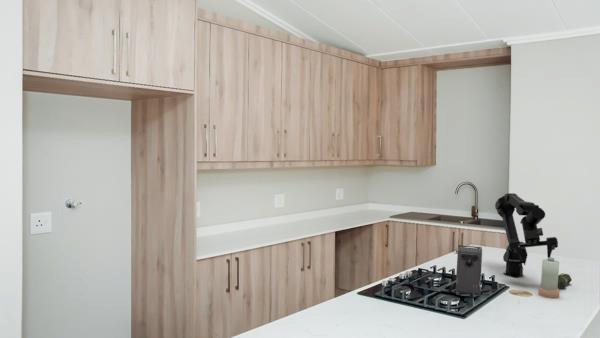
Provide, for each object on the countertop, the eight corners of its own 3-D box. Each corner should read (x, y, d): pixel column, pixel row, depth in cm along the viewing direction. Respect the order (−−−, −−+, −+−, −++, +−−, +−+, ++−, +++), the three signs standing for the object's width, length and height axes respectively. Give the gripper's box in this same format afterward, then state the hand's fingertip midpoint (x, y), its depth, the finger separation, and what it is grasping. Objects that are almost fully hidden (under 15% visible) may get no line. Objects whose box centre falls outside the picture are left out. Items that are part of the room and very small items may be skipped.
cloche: (539, 288, 204) (541, 258, 204) (542, 285, 209) (544, 255, 209) (555, 291, 201) (557, 260, 200) (558, 288, 206) (560, 258, 205)
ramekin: (534, 294, 206) (534, 287, 206) (544, 292, 210) (544, 284, 210) (553, 300, 200) (553, 292, 200) (563, 297, 204) (563, 289, 204)
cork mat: (504, 292, 208) (504, 291, 208) (516, 289, 213) (516, 288, 213) (525, 298, 200) (525, 297, 200) (537, 295, 206) (537, 294, 206)
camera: (479, 297, 214) (481, 249, 218) (480, 298, 198) (482, 246, 202) (452, 294, 217) (454, 247, 221) (450, 295, 202) (453, 243, 206)
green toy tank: (571, 284, 227) (563, 293, 212) (559, 282, 230) (550, 290, 215) (572, 270, 226) (564, 278, 212) (560, 268, 229) (551, 276, 215)
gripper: (505, 224, 219) (511, 259, 211) (553, 219, 212) (561, 254, 204) (507, 234, 228) (513, 268, 220) (553, 229, 221) (561, 264, 213)
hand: (536, 263), depth 214 cm, fingers open, 9 cm apart
